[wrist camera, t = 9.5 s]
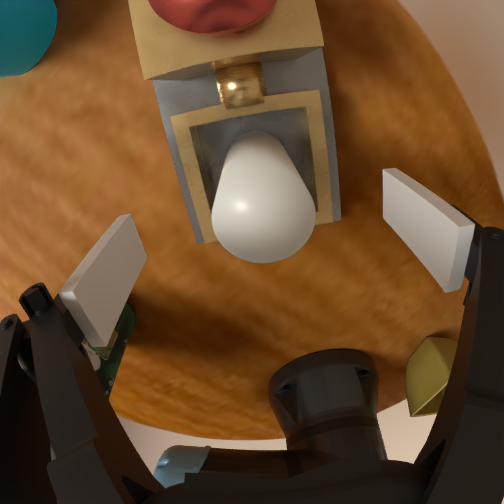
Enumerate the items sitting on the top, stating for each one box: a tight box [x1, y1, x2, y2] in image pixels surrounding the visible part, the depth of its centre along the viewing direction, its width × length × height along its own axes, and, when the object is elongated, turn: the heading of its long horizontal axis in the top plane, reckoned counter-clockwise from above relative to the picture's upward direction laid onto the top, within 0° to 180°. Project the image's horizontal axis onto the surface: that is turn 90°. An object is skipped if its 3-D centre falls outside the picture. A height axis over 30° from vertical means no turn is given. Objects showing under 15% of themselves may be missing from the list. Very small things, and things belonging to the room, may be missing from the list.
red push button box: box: [128, 0, 341, 244], centre depth 15 cm, size 22×12×11 cm, turn 10°
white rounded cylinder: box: [211, 131, 316, 263], centre depth 17 cm, size 4×4×10 cm
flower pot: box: [405, 336, 458, 417], centre depth 32 cm, size 9×9×9 cm
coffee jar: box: [50, 303, 135, 461], centre depth 22 cm, size 10×8×19 cm
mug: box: [0, 0, 57, 77], centre depth 10 cm, size 12×8×8 cm
